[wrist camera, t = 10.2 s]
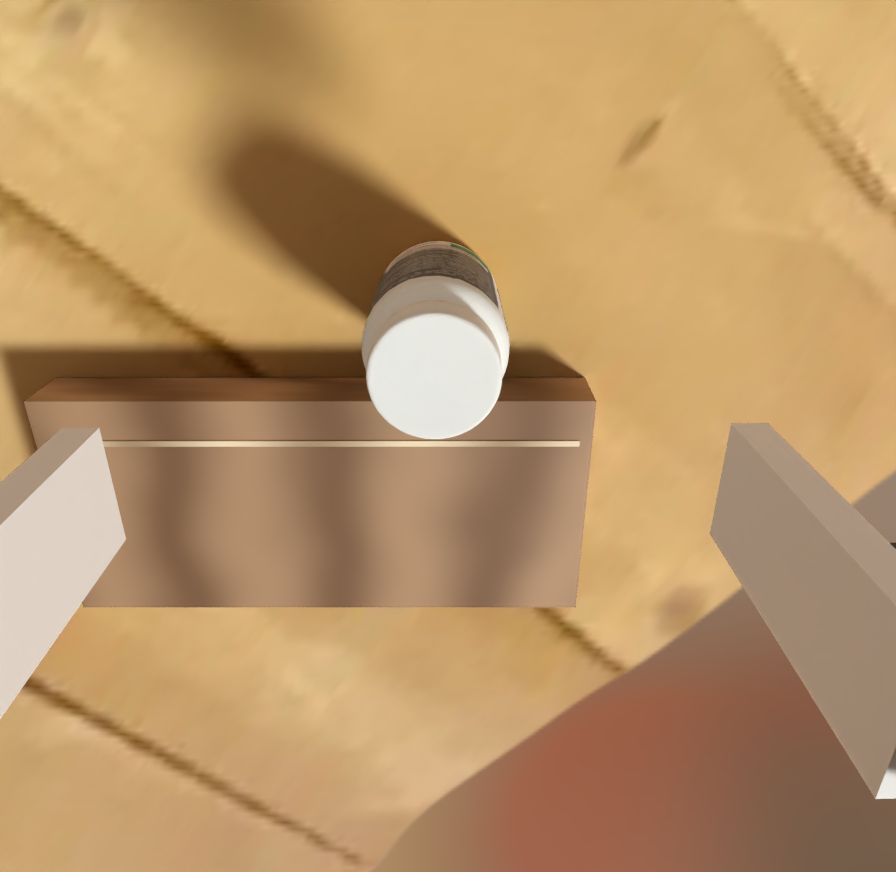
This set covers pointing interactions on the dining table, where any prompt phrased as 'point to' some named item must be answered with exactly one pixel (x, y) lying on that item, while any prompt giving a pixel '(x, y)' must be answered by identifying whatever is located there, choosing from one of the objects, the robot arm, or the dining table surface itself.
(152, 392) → the board
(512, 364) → the dining table surface
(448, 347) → the pill bottle
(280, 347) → the dining table surface
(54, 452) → the robot arm
